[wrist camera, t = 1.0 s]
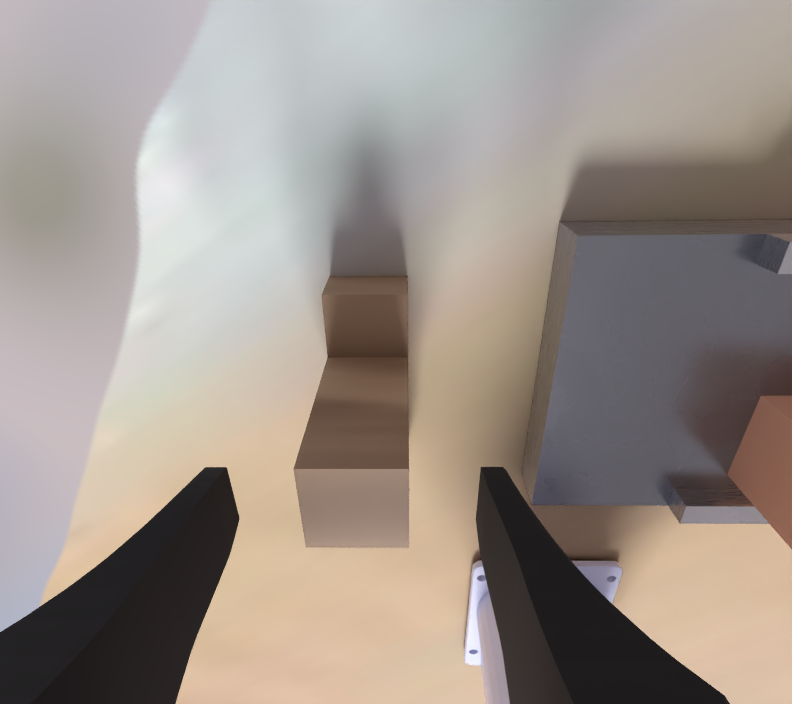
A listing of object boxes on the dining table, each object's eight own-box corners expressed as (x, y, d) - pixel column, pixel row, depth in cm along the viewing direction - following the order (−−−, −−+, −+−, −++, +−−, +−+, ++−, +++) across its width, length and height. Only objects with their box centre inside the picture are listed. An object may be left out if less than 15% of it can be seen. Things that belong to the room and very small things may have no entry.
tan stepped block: (407, 439, 22) (408, 601, 15) (344, 439, 22) (314, 601, 15) (407, 275, 18) (408, 387, 11) (329, 276, 18) (281, 388, 11)
